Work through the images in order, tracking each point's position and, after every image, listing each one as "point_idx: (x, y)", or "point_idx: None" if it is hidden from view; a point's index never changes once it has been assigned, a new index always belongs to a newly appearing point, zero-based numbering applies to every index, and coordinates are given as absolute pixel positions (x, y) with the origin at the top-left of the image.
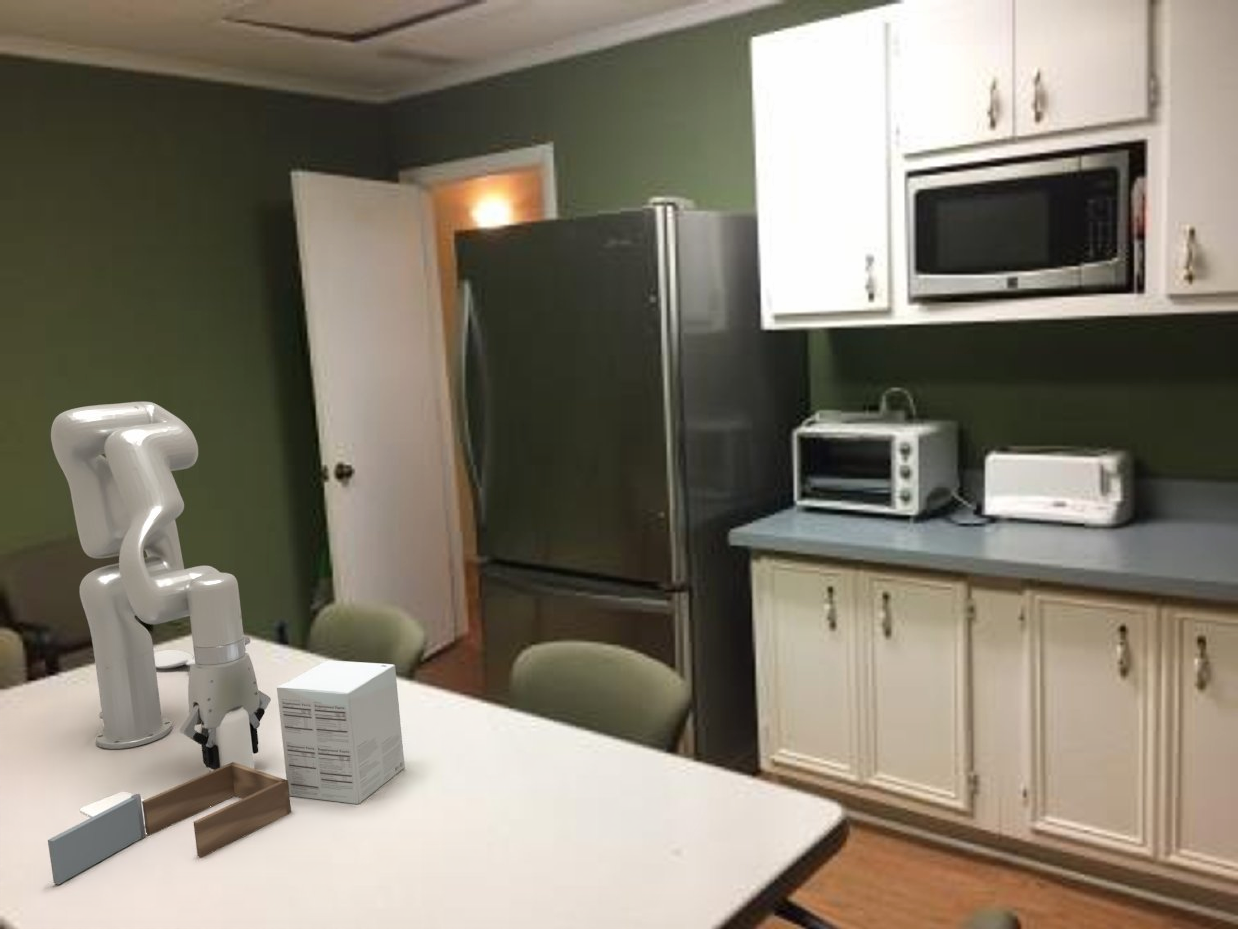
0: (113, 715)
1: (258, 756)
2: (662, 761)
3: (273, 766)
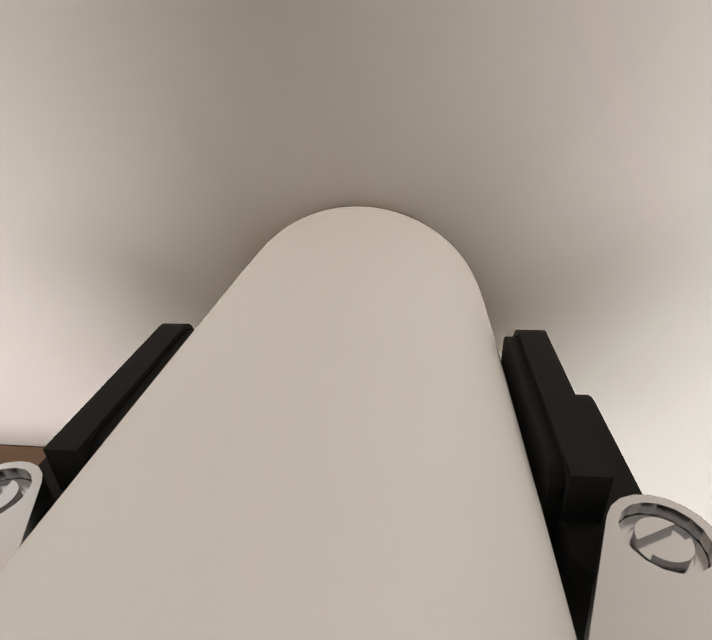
0: None
1: (688, 168)
2: None
3: (578, 387)
